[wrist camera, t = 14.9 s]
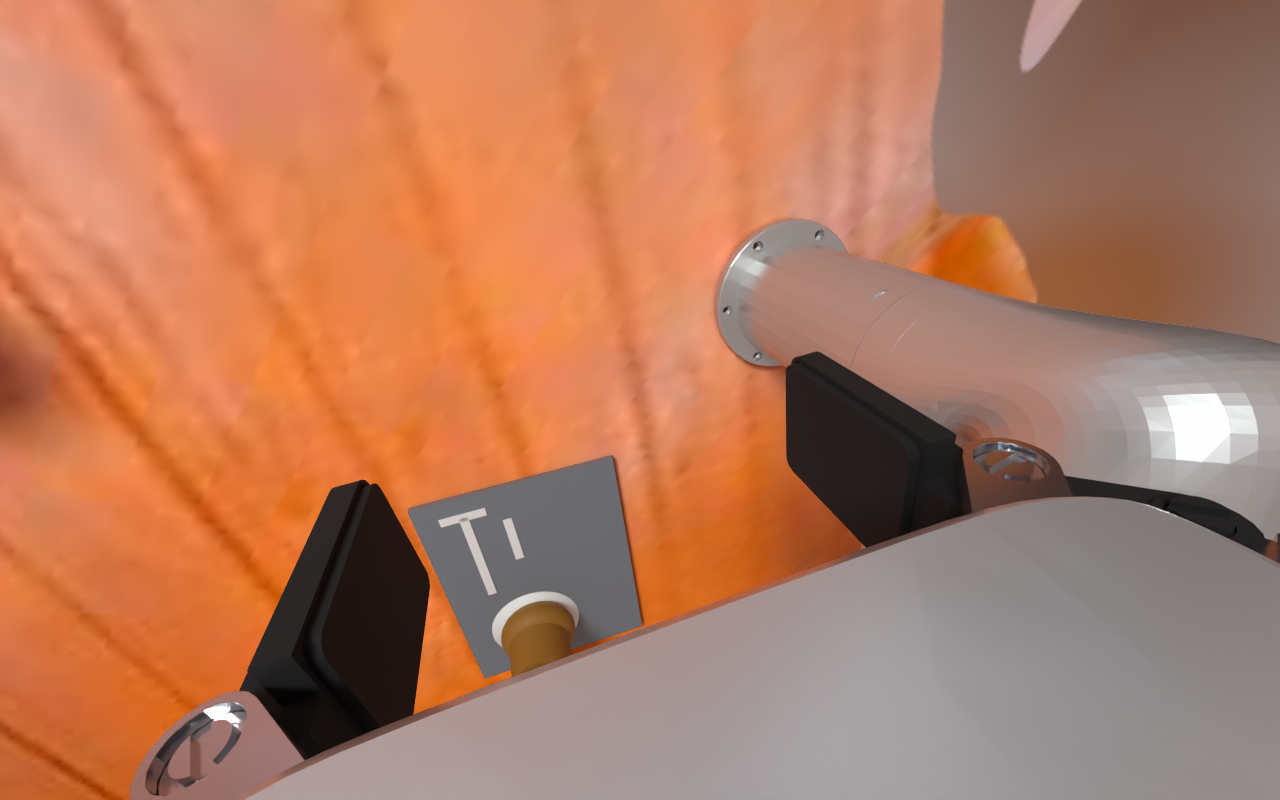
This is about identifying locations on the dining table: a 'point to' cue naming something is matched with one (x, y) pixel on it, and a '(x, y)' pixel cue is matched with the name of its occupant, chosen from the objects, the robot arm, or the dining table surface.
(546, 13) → the dining table surface
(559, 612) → the ornamental finial
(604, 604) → the slate board
